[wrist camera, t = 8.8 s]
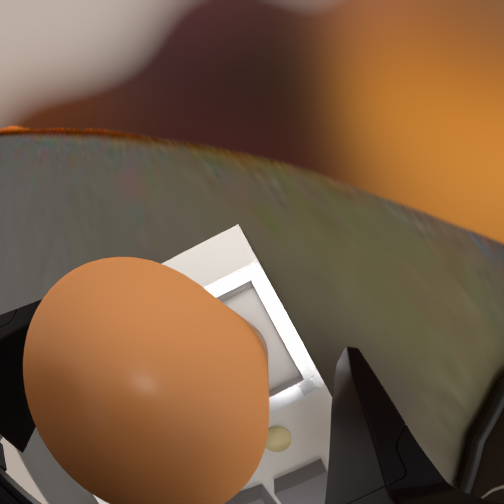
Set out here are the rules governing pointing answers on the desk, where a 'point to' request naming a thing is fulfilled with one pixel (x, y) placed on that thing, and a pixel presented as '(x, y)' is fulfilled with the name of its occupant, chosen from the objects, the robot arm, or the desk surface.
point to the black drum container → (486, 451)
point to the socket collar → (308, 372)
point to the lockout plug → (147, 385)
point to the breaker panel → (280, 371)
